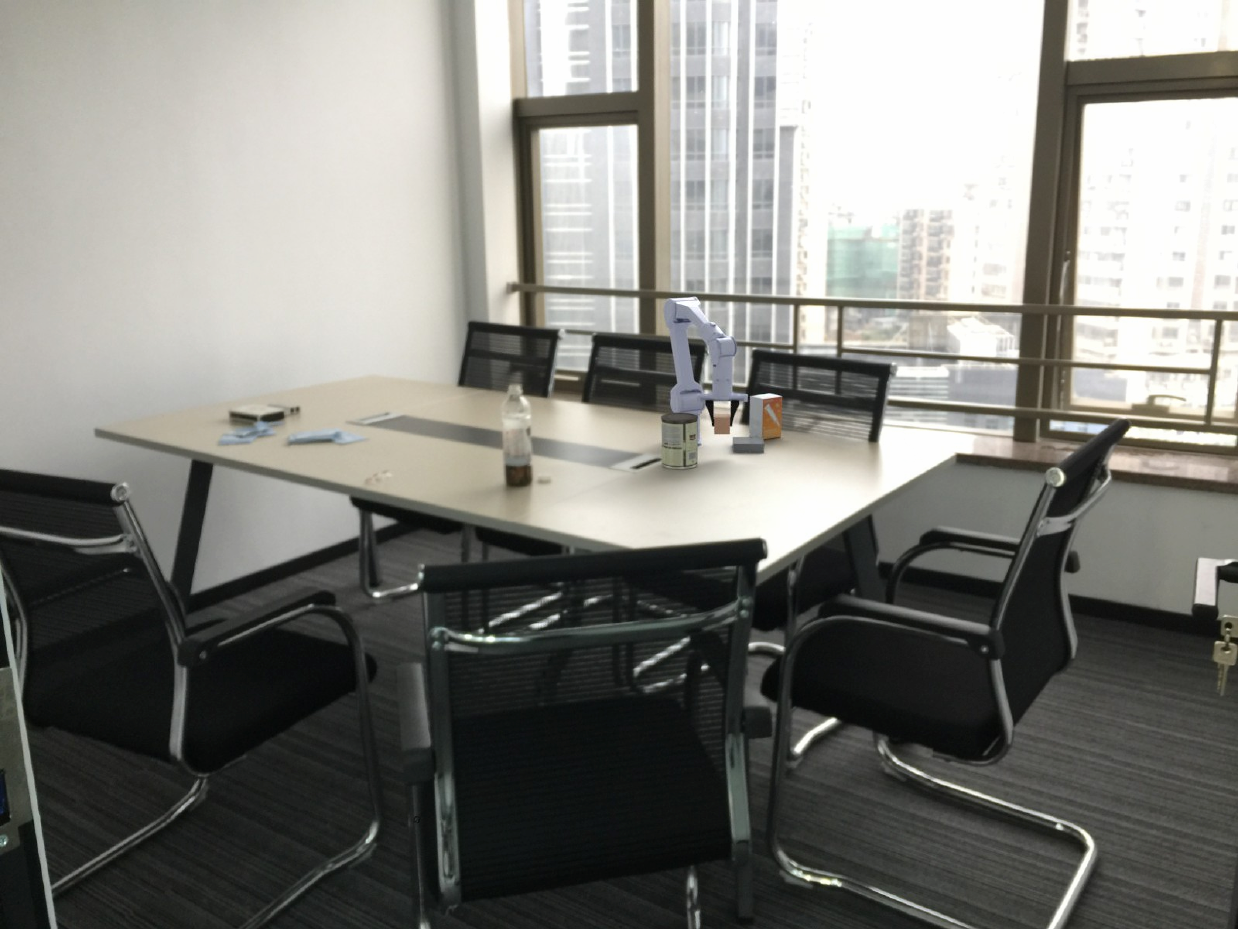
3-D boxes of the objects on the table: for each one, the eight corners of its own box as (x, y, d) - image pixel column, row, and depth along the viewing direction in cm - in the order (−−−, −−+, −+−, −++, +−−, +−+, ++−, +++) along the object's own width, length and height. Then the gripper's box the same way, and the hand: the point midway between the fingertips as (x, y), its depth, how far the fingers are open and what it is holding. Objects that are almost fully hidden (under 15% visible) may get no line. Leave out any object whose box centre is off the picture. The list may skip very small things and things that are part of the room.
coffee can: (667, 459, 308) (667, 411, 305) (701, 461, 305) (702, 413, 302) (656, 468, 299) (656, 418, 295) (692, 470, 296) (692, 420, 292)
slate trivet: (733, 453, 316) (733, 443, 315) (732, 446, 325) (732, 436, 324) (763, 453, 315) (764, 443, 314) (762, 446, 324) (762, 436, 323)
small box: (762, 440, 330) (762, 398, 327) (748, 436, 335) (749, 395, 332) (781, 436, 334) (782, 395, 331) (768, 433, 339) (769, 392, 336)
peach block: (714, 434, 308) (714, 417, 307) (714, 430, 312) (714, 414, 311) (729, 434, 308) (730, 417, 306) (729, 430, 312) (729, 414, 311)
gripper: (696, 381, 303) (696, 428, 306) (748, 381, 302) (747, 428, 305) (697, 377, 310) (696, 423, 313) (747, 377, 308) (746, 423, 312)
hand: (721, 425), depth 310 cm, fingers closed on peach block, 4 cm apart
